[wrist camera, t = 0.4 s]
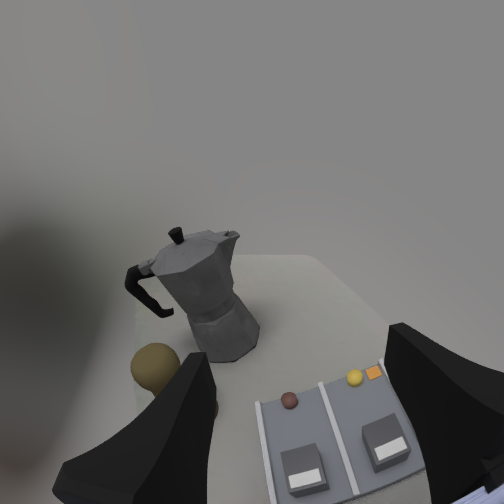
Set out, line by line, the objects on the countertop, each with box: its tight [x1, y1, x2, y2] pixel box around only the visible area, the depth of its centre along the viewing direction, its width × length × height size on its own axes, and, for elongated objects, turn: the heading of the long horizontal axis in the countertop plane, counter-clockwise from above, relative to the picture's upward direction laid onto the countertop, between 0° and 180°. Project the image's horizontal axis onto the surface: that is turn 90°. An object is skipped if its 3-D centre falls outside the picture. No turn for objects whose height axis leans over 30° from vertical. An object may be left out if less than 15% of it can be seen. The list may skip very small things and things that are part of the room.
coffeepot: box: [125, 227, 259, 363], centre depth 36 cm, size 15×9×18 cm, turn 102°
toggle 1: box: [280, 443, 330, 498], centre depth 19 cm, size 4×3×3 cm
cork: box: [131, 343, 218, 420], centre depth 28 cm, size 6×6×11 cm
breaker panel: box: [255, 358, 426, 504], centre depth 22 cm, size 13×14×2 cm
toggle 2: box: [362, 413, 412, 473], centre depth 18 cm, size 4×3×3 cm
